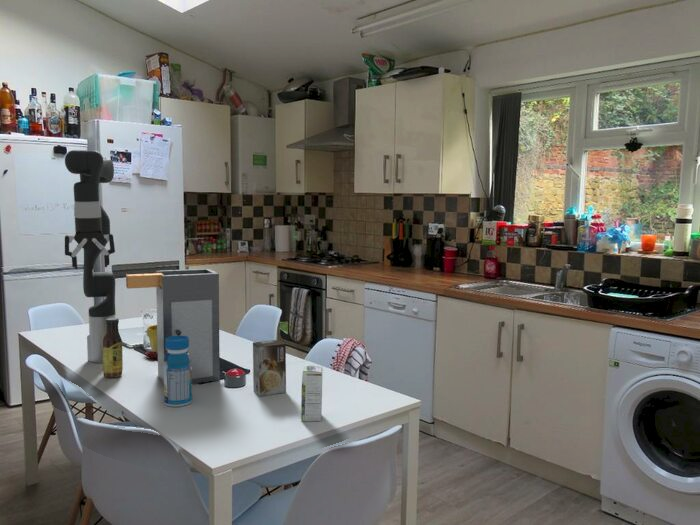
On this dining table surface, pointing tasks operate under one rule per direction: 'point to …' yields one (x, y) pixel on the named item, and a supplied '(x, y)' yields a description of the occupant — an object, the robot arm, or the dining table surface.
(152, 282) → the wooden handled hammer
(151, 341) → the plant pot
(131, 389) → the dining table surface
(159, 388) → the dining table surface
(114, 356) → the sauce bottle
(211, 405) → the dining table surface
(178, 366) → the beverage bottle
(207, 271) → the small grey cabinet
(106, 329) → the robot arm
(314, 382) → the drink carton
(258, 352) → the coffee box
